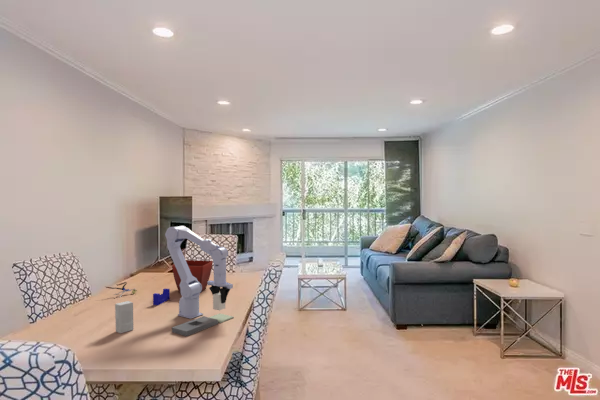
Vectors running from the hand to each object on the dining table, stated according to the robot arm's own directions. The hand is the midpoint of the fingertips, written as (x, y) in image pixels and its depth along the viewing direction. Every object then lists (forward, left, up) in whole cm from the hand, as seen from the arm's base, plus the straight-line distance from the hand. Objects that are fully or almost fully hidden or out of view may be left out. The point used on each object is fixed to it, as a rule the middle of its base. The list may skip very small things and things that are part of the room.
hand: (220, 302), depth 183 cm
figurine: (-77, 0, -8) cm, 77 cm away
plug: (0, -1, -3) cm, 3 cm away
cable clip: (-48, +3, -8) cm, 48 cm away
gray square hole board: (0, -15, -8) cm, 17 cm away
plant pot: (-52, +30, -8) cm, 61 cm away
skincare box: (-23, -34, -8) cm, 42 cm away
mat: (0, 0, -8) cm, 8 cm away
